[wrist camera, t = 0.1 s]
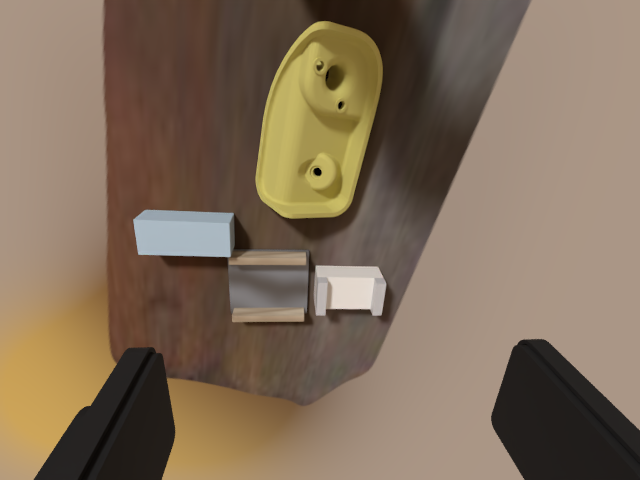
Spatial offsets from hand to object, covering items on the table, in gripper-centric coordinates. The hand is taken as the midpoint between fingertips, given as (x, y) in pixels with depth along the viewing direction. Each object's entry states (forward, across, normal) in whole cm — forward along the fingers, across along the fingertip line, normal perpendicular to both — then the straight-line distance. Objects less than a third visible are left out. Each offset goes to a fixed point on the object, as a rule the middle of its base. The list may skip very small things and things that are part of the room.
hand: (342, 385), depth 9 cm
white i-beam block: (+37, -7, +18) cm, 42 cm away
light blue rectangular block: (+37, +14, +10) cm, 41 cm away
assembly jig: (+37, +4, +18) cm, 41 cm away
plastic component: (+37, -2, -3) cm, 37 cm away
